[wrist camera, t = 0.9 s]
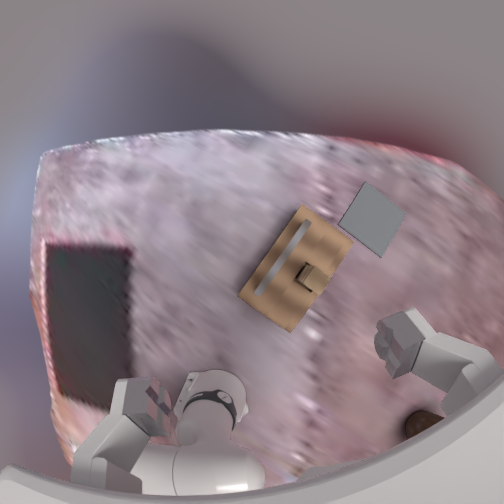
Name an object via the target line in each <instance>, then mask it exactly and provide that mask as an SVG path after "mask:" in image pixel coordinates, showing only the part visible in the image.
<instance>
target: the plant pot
mask: <svg viewBox="0 0 504 504" xmlns="http://www.w3.org/2000/svg"><path fill="white" fill-rule="evenodd" d="M443 419H444V417H441V416H439V415H436V414H433V413H429V412H424V411H418V412H415V413H414V414H412V415H411V416H410V417H409V418H408V420H407V422H406V432H407V437H408V439H410V438H412V437H414V436H416V435H417V434H419V433H421V432H423V431H425V430H426V429H428V428H430V427H431V426H433V425H435V424H436V423H438V422H440V421H441V420H443Z"/></svg>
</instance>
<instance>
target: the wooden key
mask: <svg viewBox="0 0 504 504" xmlns="http://www.w3.org/2000/svg"><path fill="white" fill-rule="evenodd" d="M295 279H297V280H298V281H300V282H301V283H302V284H304V285H305V286H307V287H308V288H310V289H311V290H313V291H314V292H316V293H317V294H318V295H321V293H322V292H323V290H324V289H325V287H326V286H327V285H328V283H329V282H330V280H331V279H332V277H330V276H329V275H327V274H326V273H325V272H323V271H322V270H321V269H319V268H318V267H316V266H309V265H304V266H303V268H302V269H301V270H300V272H299V273H298V275H297V276H296V278H295Z"/></svg>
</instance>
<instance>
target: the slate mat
mask: <svg viewBox="0 0 504 504" xmlns="http://www.w3.org/2000/svg"><path fill="white" fill-rule="evenodd" d="M405 215H406V213H404V212H403V211H402V210H401V209H400V208H399V207H397V206H396V205H395V204H394V203H393V202H391V201H390V200H389V199H388V198H386V197H385V196H384V195H383V194H381V193H380V192H379V191H378V190H376V189H375V188H374V187H373V186H371V185H370V184H369V183H367V182H365V183H364V184H363V186H362V188H361V189H360V191H359V193H358V194H357V196H356V197H355V199H354V201H353V202H352V204H351V205H350V207H349V208H348V210H347V212H346V213H345V215H344V216H343V218H342V219H341V221H340V222H339V224H338V225H339V226H340V227H341V228H343V229H344V230H345V231H347V232H348V233H349V234H351V235H352V236H353V237H355V238H356V239H357V240H359V241H360V242H361V243H362V244H364V245H365V246H366V247H368V248H369V249H370V250H371V251H373V252H374V253H375V254H377V255H378V256H379V257H380V258H381V257H382V256H383V254H384V252H385V251H386V249H387V247H388V246H389V244H390V242H391V240H392V239H393V237H394V235H395V233H396V231H397V230H398V228H399V226H400V224H401V222H402V221H403V219H404V217H405Z"/></svg>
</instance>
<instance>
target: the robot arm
mask: <svg viewBox="0 0 504 504" xmlns="http://www.w3.org/2000/svg"><path fill="white" fill-rule="evenodd" d="M376 328H377V330H378V332H377V334H376V335H375V339H374V344H375V349H376V352H377V354H378V356H379V357H380V359H383V360H385V361H386V365H385V367H386V369H387V371H388V372H389V374H390V376H391V377H392V379H395V378H397V377H400V376H402V375H404V374H406V373H409V372H411V371H412V373H413V374H415V375H417V376H418V377H420V378H422V379H424V380H425V381H427V382H429V383H431V384H432V385H434V386H436V387H437V388H439V389H441V390H443V391H444V392H446V393H447V394H446V396H445V397H444V399H443V400H442V402H441V405H440V406H441V408H442V409H443V411H444V413H445V415H446V416H447V417H446V418H444V419H443V420H441V421H440V422H438V423H436V424H435V425H433V426H431V427H430V428H428V429H426V430H425V431H423V432H421V433H419V434H417V435H416V436H414V437H412V438H410V439H408V440H406V441H404V442H402V443H400V444H398V445H396V446H394V447H392V448H390V449H388V450H386V451H383V452H381V453H379V454H377V455H374V456H372V457H370V458H367V459H365V460H362V461H360V462H357V463H355V464H352V465H349V466H346V467H343V468H341V469H338V470H335V471H332V472H328V473H326V474H322V475H319V476H315V477H312V478H308V479H304V480H301V481H296V482H292V483H288V484H283V485H278V486H273V487H268V488H263V487H264V485H265V480H266V473H265V469H264V466H263V464H262V462H261V460H260V459H259V458H258V457H257V456H256V455H255V454H254V453H253V452H252V451H250V450H248V449H245V448H242V447H240V446H238V445H236V444H235V443H233V442H232V441H231V432H232V430H233V429H234V427H235V426H236V423H237V422H240V421H241V419H242V417H243V416H244V415H245V414H247V413H248V411H249V407H248V405H247V403H246V391H245V388H244V386H243V384H242V382H241V381H240V380H239V379H238V378H237V377H236V376H234V375H233V374H231V373H229V372H227V371H223V370H208V371H205V372H195V371H192V372H190V373H189V375H188V377H187V379H186V381H185V384H184V386H183V388H182V391H181V393H180V395H179V398H178V400H177V402H176V405H175V407H174V410H173V411H174V413H175V415H176V416H177V419H178V423H177V425H176V429H175V433H176V438H177V440H178V442H179V444H180V445H181V446H175V445H162V444H152V443H148V442H149V440H150V438H151V437H152V436H166V435H170V431H171V420H170V419H169V417H168V416H167V415H168V414H169V412H170V411H171V400H170V396H169V394H168V392H167V390H166V389H165V388H164V387H162V386H159V383H160V381H159V380H158V379H157V377H156V376H151V377H140V378H127V379H118V381H117V382H116V385H115V390H114V394H113V399H112V405H111V410H110V415H106V416H105V417H104V419H103V420H102V421H101V422H100V423H99V424H98V426H97V427H96V428H95V429H94V430H93V432H92V433H91V434H90V435H89V436H88V437H87V439H86V440H85V441H84V442H83V443H82V445H81V446H80V447H79V448H78V449H77V451H76V452H75V453H74V458H73V464H72V471H71V478H70V482H68V481H64V480H60V479H57V478H53V477H50V476H47V475H44V474H41V473H38V472H35V471H32V470H29V469H27V468H24V467H21V466H19V465H16V464H8V465H7V466H5V467H4V468H3V469H2V471H1V472H0V504H504V371H503V369H502V368H501V367H500V365H499V364H498V363H497V362H496V360H495V359H494V358H493V357H492V355H491V354H490V353H489V352H488V350H486V349H483V348H480V347H478V346H475V345H472V344H470V343H467V342H464V341H462V340H459V339H457V338H454V337H451V336H449V335H446V334H443V333H441V332H439V333H436V332H435V331H434V329H433V328H432V327H431V326H430V325H429V324H428V322H427V321H426V320H425V319H424V318H423V317H422V315H421V314H420V313H419V312H418V311H417V310H416V309H415V308H414V307H410V308H408V309H405V310H403V311H401V312H397V313H395V314H393V315H390V316H388V317H385V318H383V319H380V320H379V321H378V322H377V326H376ZM190 379H192V380H190Z"/></svg>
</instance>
